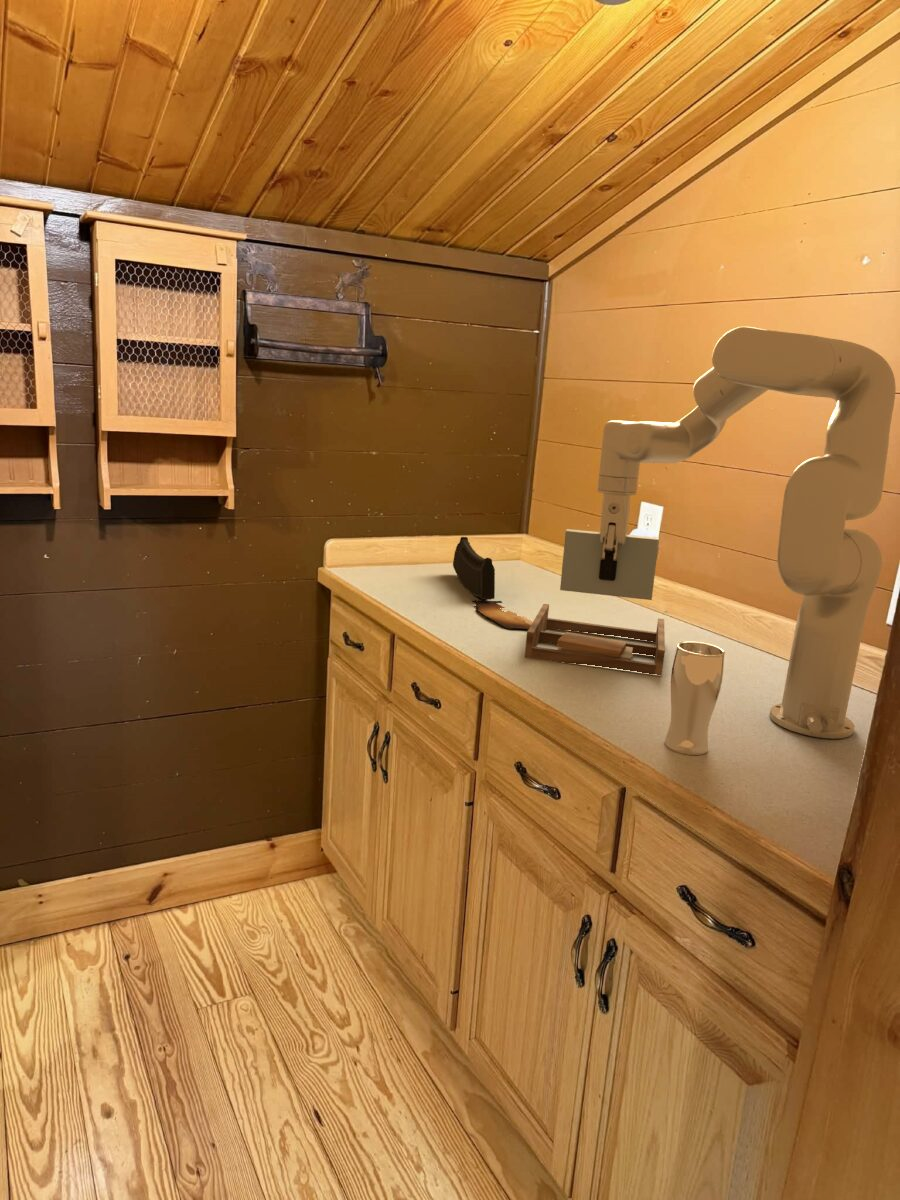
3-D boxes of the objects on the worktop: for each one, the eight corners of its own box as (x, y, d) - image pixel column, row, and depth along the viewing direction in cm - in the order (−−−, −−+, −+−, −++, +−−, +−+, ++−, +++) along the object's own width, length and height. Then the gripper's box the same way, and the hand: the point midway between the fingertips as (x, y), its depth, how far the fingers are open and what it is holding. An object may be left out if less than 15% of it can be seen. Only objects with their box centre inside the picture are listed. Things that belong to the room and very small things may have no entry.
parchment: (545, 632, 177) (546, 628, 177) (503, 632, 174) (503, 628, 174) (500, 603, 200) (500, 600, 200) (462, 603, 197) (462, 599, 196)
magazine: (500, 569, 192) (472, 512, 217) (486, 568, 192) (460, 511, 217) (488, 631, 201) (463, 570, 226) (475, 631, 200) (451, 569, 225)
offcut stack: (628, 671, 156) (631, 653, 155) (553, 659, 160) (555, 641, 159) (633, 659, 164) (635, 641, 163) (561, 647, 168) (563, 630, 167)
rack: (661, 676, 153) (665, 650, 152) (524, 657, 158) (527, 631, 157) (660, 642, 175) (664, 619, 174) (541, 626, 181) (543, 603, 179)
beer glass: (686, 734, 126) (701, 639, 123) (721, 753, 121) (737, 653, 117) (651, 740, 123) (665, 643, 120) (685, 759, 117) (700, 658, 114)
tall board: (651, 600, 164) (658, 539, 162) (560, 590, 168) (565, 530, 166) (651, 597, 167) (658, 537, 165) (561, 587, 171) (567, 529, 168)
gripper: (636, 490, 154) (625, 588, 159) (637, 484, 170) (627, 573, 174) (594, 487, 156) (585, 583, 160) (600, 481, 172) (591, 569, 176)
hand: (607, 577), depth 167 cm, fingers closed on tall board, 3 cm apart
